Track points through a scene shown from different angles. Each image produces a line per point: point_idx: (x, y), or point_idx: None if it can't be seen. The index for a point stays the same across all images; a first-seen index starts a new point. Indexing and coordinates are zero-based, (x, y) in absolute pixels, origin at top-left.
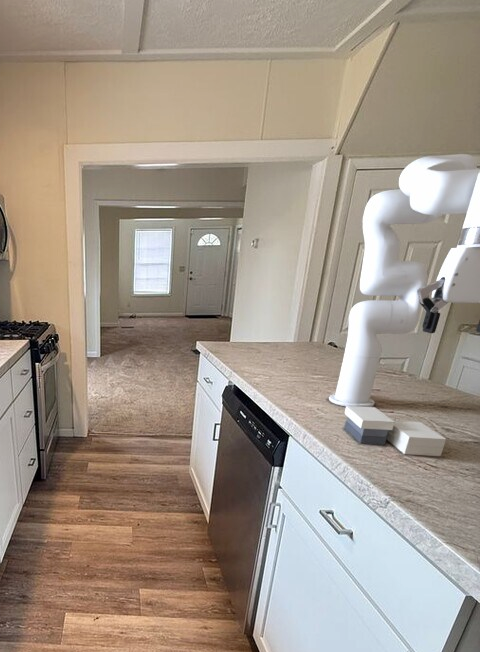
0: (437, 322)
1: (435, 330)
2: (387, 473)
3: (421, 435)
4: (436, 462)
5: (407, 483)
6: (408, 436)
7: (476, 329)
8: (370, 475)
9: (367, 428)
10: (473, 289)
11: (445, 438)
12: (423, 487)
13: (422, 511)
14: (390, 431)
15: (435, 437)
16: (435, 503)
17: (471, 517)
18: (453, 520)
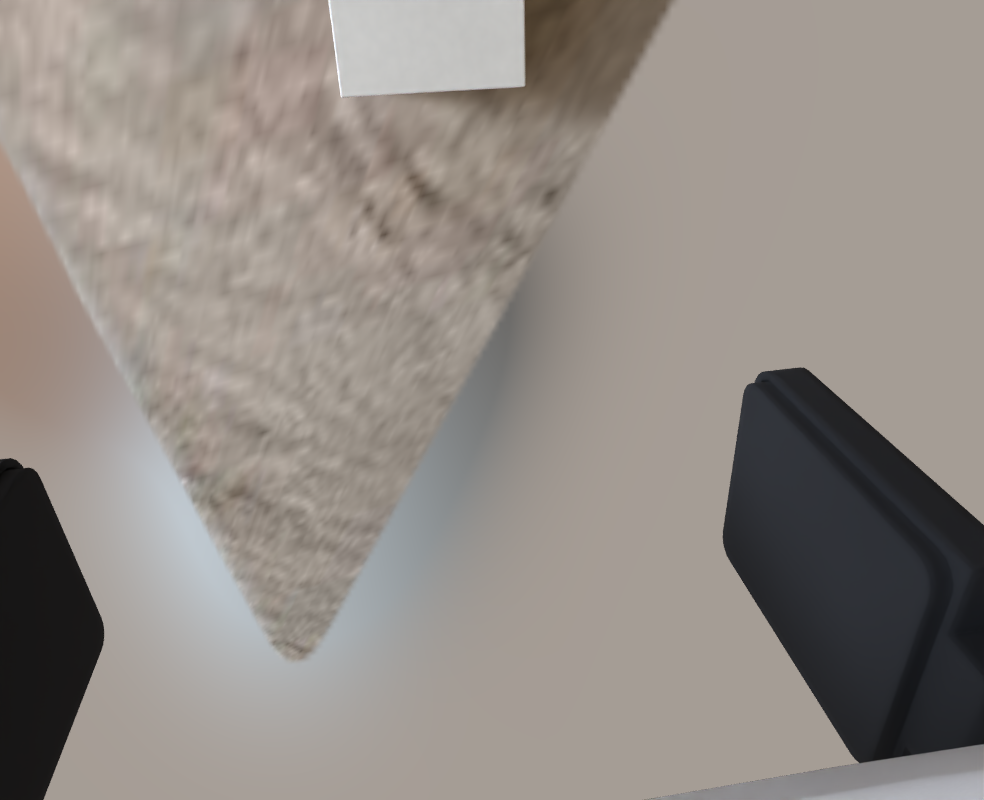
0: (46, 771)
1: (95, 660)
2: (217, 313)
3: (416, 54)
4: (461, 144)
5: (271, 378)
6: (340, 85)
7: (756, 392)
8: (146, 348)
9: None
10: None
11: (524, 78)
12: (317, 393)
13: (262, 536)
14: None
15: (479, 73)
16: (316, 484)
17: (383, 529)
18: (329, 555)
